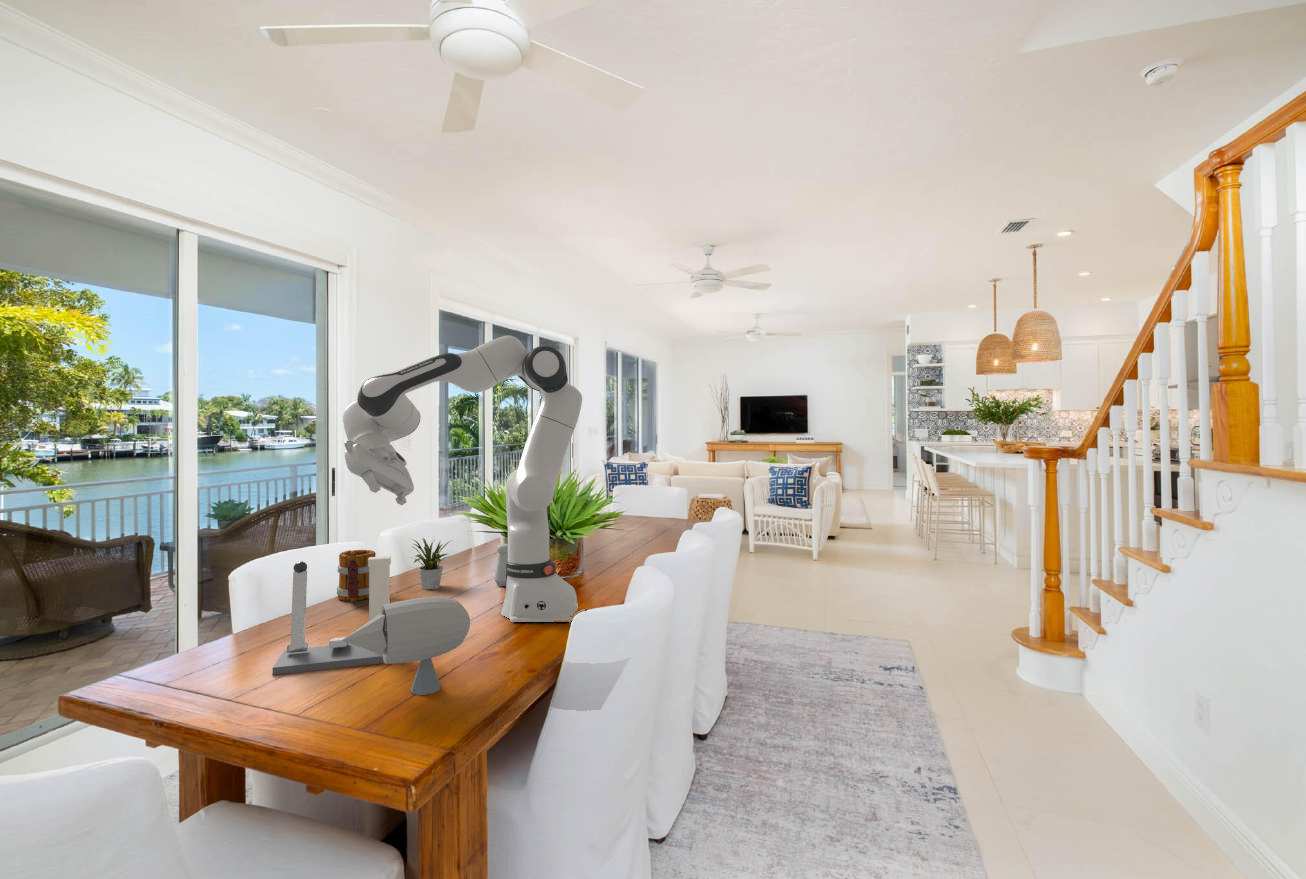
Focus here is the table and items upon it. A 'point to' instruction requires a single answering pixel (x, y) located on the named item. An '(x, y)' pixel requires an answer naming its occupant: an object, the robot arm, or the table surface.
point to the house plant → (430, 565)
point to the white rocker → (337, 642)
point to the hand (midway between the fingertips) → (389, 496)
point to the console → (325, 659)
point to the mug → (354, 575)
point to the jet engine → (415, 635)
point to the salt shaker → (501, 565)
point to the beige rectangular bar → (378, 584)
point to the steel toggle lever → (298, 609)
